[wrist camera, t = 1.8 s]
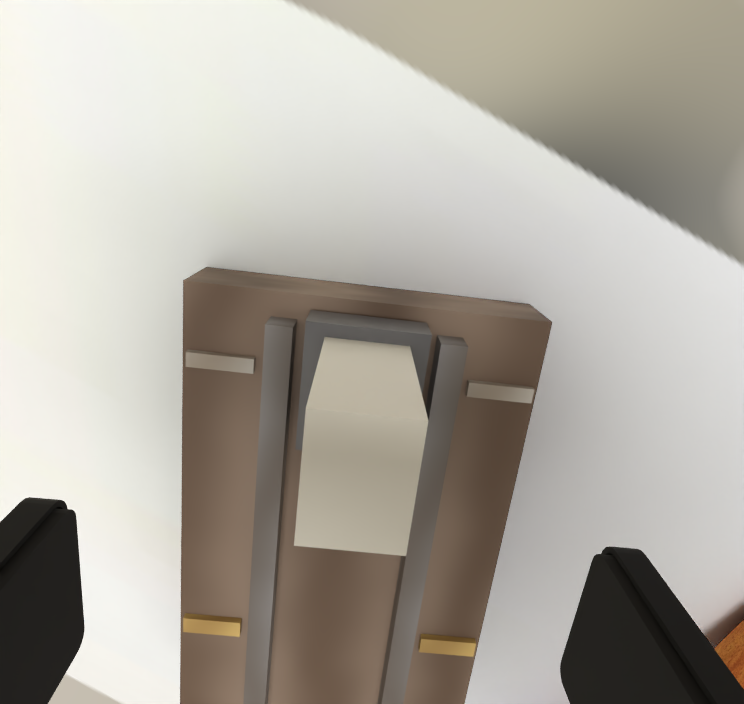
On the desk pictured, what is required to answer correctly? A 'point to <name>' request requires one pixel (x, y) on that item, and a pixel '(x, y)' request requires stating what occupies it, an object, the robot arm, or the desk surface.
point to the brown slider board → (281, 486)
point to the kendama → (733, 652)
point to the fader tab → (360, 431)
